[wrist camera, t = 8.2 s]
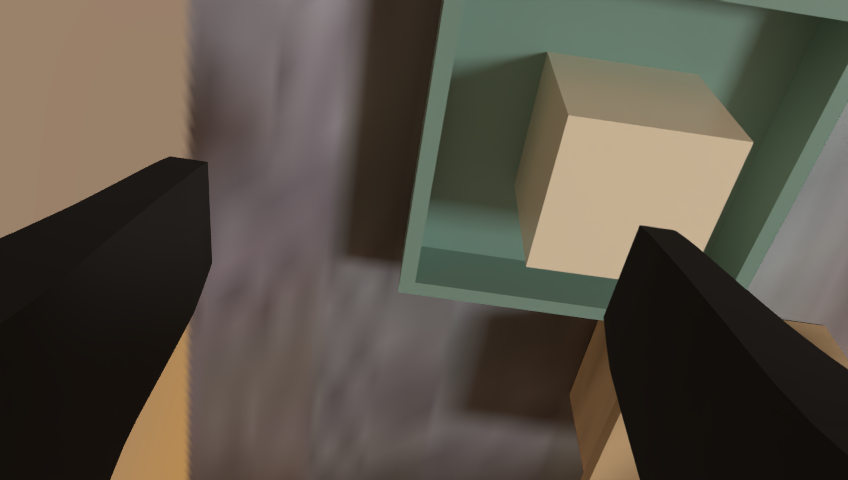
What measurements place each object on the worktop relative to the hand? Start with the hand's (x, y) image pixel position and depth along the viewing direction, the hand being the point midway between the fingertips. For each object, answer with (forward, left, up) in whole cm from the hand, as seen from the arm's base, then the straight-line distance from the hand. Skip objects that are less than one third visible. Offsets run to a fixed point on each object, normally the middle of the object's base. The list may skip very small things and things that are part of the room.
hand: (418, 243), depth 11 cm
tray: (-6, +2, -10) cm, 12 cm away
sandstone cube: (-6, +2, -10) cm, 12 cm away
